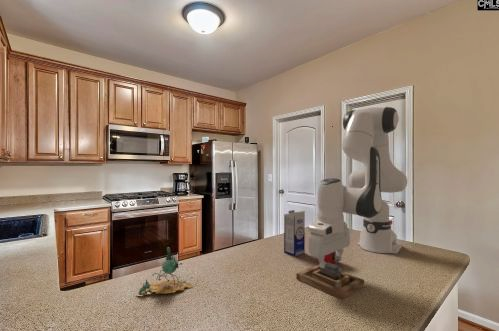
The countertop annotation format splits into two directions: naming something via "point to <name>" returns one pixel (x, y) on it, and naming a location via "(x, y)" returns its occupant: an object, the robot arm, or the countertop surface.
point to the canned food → (330, 258)
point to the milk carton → (294, 233)
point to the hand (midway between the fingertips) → (330, 263)
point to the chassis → (330, 282)
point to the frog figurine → (166, 286)
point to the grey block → (331, 271)
